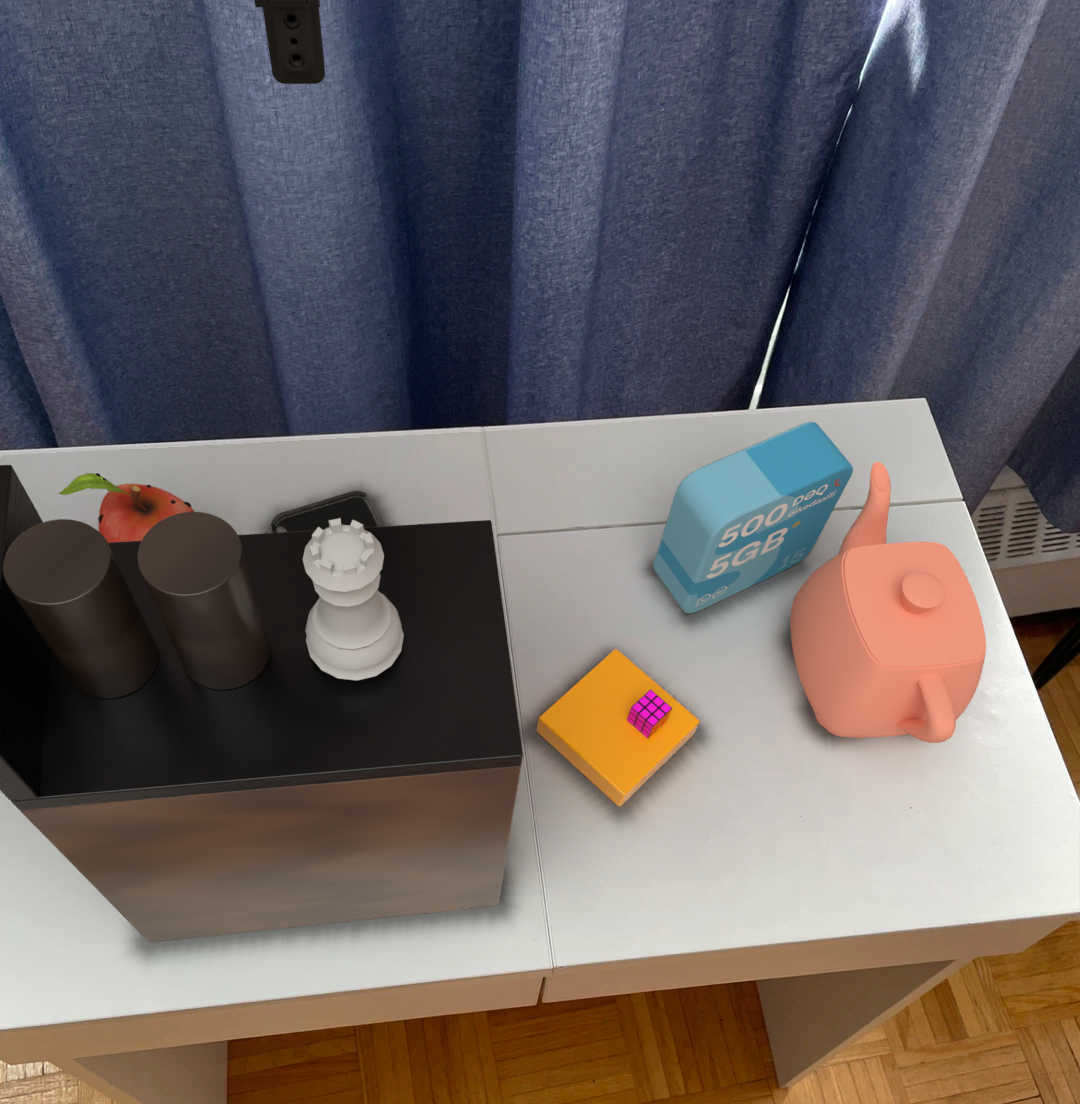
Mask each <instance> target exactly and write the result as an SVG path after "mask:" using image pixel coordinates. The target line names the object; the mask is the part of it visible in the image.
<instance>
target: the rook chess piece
mask: <svg viewBox="0 0 1080 1104" xmlns="http://www.w3.org/2000/svg"><path fill="white" fill-rule="evenodd" d="M383 560H384V554H383V550H382V547H381V544H380V542H379V541H378V540H377V539H376V538H375V537H374V536H373V535H372V533H370V532H368V531H366V530H364V527H363V524H361V523H359V522H357V521H355V520H352V522H351V524H350V525H341V518H339V519H334V520H329V527H328V528H326V529H324V530H322V529H321V528H320V527H318V528H317V529H316V530H315V532H314V533H313V534H312V539H311V540H310V541H309V543H308V544H307V545H306V547H305V551H304V556H303V563H304V566H305V570H306V573H307V574H308V575H309V576H310V578H311V579H312V580H313V584H314V588H315V591H316V592H317V593H318V594H319V595H320V596H319V599H318V601H317V602H316V604H315V605H314V606H313V608H312V609H311V610H310V612H309V616H308V621H307V625H306V630H305V631H306V635H307V638H306V643H307V646H308V650H309V654H310V657H311V658H312V659H313V661H314V662H315V663H316V664H317V665H318V667H319V668H320V669H321V670H322V671H324V672H326V673H328V674H330V675H332V676H334V677H336V678H339V679H348V680H361V679H366V678H370V677H374V676H377V675H378V674H380V673H381V672H383V671H384V670H386V669H387V668H389V667H390V666H392V664H393V663H394V661H395V660H396V658H397V657H398V655H399V654H400V652H401V649H402V643H403V636H404V634H403V631H402V628H401V626H402V625H401V622H400V619H399V615H398V612H397V610H396V608H395V607H394V605H393V604H392V603H391V602H390V601H389V600H388V599H387V598H386V596H385V595H384V594H382V593H380V592H379V591H378V590H377V589H378V587H379V582H380V573H379V572H380V571H381V569H382V565H383Z"/></svg>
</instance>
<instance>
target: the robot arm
mask: <svg viewBox="0 0 1080 1104" xmlns="http://www.w3.org/2000/svg"><path fill="white" fill-rule="evenodd" d="M253 1H254V6H255V8H262V14H263V18H264V26H265V33H266V41H267V47H268V53H269V55H268V56H269V61H270V67H271V73H272V77H273V78H274V79H275V81H277V82H278V83H279V84H283V85H315V84H317V85H318V84H320V83H321V82H323V80H324V79H325V76H326V67H325V66H326V65H325V54H324V44H323V36H322V25H321V13H320V8H321V0H253Z"/></svg>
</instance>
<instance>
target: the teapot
mask: <svg viewBox="0 0 1080 1104" xmlns="http://www.w3.org/2000/svg"><path fill="white" fill-rule="evenodd" d="M891 487H892V486H891V479H890V474H889V472H888V470H887V468H886V466H885V464H884V463H883V462H881V461H875V462H874V463H873V464H872V466H871V469H870V474H869V487H868V493H867V497H866V500H865V503H864V504H863V507H862V509H861V511H860V512H859V514H858V515H857V517H856V519H855V521H854V522H853V523H852V525H850V528H849V529H848V530H847V532H846V534H845V536H844V537H843V540H842V542H841V545H840V547H839V551H838V554H837V555H835V556H833V557H832V558H830V559H829V560H827V561H825V562H824V563H823V564H821V565H820V566H819V567H818V568H817V569H816V570H814V571H813V572H812V573H811V574H810V575H809V576H808V577H807V578H806V580H805V581H804V582H803V583H802V585H801V586H800V587H799V589H798V591H797V592H796V594H795V595H794V597H793V601H792V603H791V609H790V617H789V618H790V641H791V647H792V654H793V658H794V664H795V667H796V670H797V674H798V677H799V680H800V684H801V686H802V688H803V691H804V693H805V695H806V698H807V700H808V702H809V704H810V706H811V708H812V710H813V712H814V714H815V719H816V721H817V722H818V724H819V725H820V726H822V728H824V729H826V731H827V732H829V733H830V734H832V735H834V736H837V737H840V738H841V737H842V738H858V739H859V738H860V739H862V738H884V737H886V738H887V737H897V736H907V735H909V736H911V737H913V738H916V739H917V740H920V741H921V742H925V743H928V744H938V743H944V742H946V741H948V740H949V739H951V738H952V737H953V736H954V734H955V730H956V721H957V720H958V719H959V718H960V717H961V716H962V715H963V713H964V712H965V711H966V709H967V708H968V707H969V705H970V703H971V701H972V700H973V697H974V695H975V694H976V691H977V689H978V687H979V684H980V680H981V676H982V672H983V669H984V665H985V664H984V663H985V659H986V651H987V639H986V632H985V627H984V623H983V619H982V615H981V610H980V607H979V604H978V601H977V597H976V595H975V593H974V591H973V588H972V585H971V584H970V580H969V579H968V577H967V575H966V573H965V571H964V570H963V567H962V565H961V564H960V562H959V560H958V559H957V557H956V556H955V554H954V553H953V552H952V551H951V549H950V548H948V547H947V546H946V545H944V544H942V543H941V542H936V541H907V542H904V541H903V542H891V543H887V533H888V520H889V512H890V503H891V490H892V488H891Z"/></svg>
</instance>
